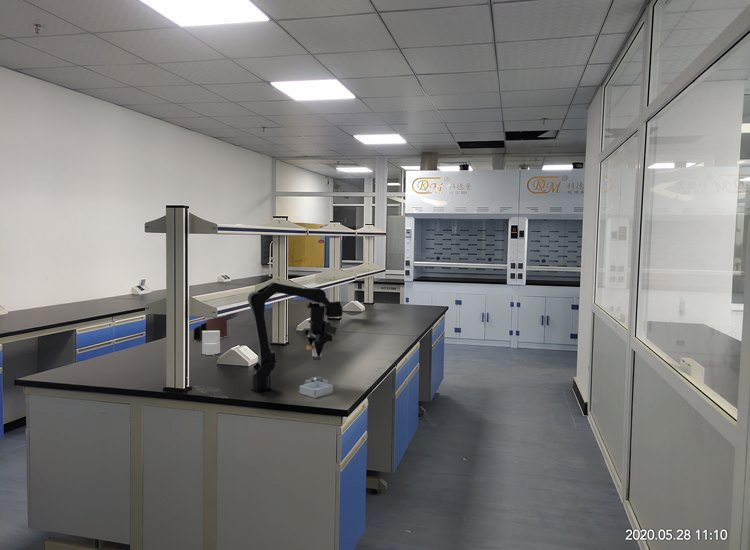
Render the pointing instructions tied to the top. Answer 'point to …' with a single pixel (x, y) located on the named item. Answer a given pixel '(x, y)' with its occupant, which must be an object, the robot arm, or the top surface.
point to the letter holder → (212, 327)
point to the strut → (313, 352)
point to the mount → (314, 379)
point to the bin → (316, 389)
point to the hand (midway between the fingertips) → (316, 355)
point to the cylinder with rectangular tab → (210, 342)
